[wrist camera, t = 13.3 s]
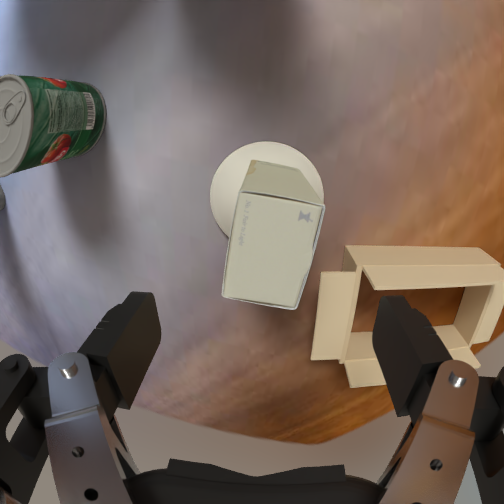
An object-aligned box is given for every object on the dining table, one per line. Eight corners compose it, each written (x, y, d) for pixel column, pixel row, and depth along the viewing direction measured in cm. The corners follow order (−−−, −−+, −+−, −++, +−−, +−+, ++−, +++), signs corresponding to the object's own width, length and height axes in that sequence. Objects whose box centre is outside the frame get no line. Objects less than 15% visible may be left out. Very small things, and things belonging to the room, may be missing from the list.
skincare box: (250, 158, 25) (235, 182, 14) (302, 168, 25) (329, 201, 14) (238, 227, 27) (216, 298, 16) (286, 236, 27) (297, 313, 16)
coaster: (324, 142, 25) (325, 143, 24) (319, 249, 28) (320, 252, 28) (209, 142, 25) (207, 142, 25) (214, 248, 29) (213, 251, 28)
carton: (495, 248, 27) (535, 278, 20) (470, 325, 31) (499, 362, 24) (314, 244, 28) (329, 286, 21) (306, 337, 33) (313, 390, 25)
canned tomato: (68, 171, 27) (-6, 198, 16) (39, 116, 24) (-35, 125, 14) (120, 124, 25) (46, 130, 15) (87, 67, 22) (12, 53, 12)
